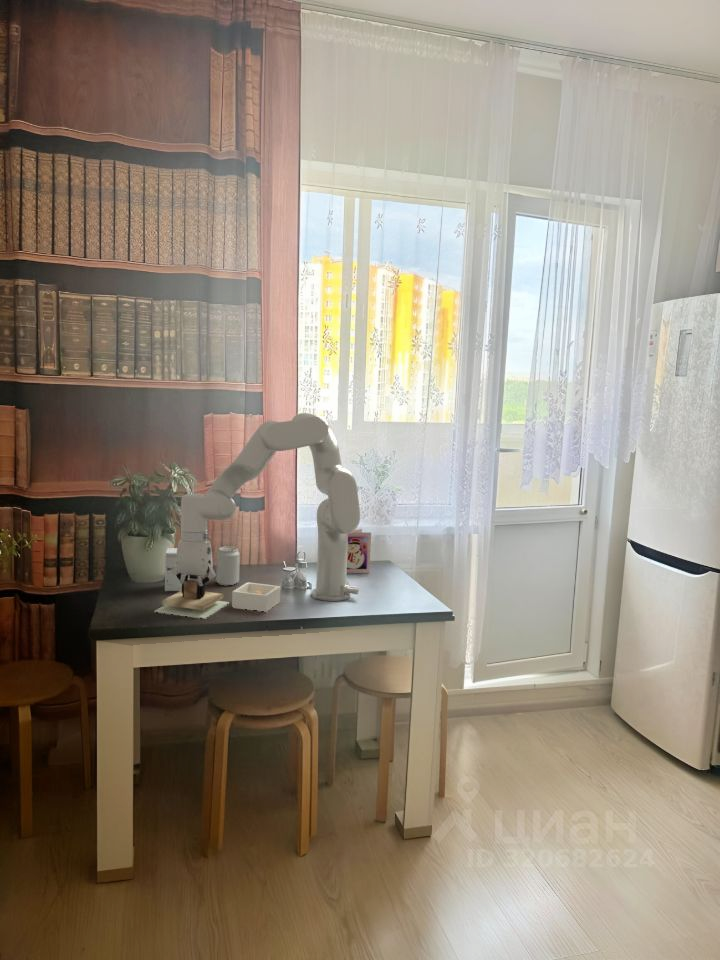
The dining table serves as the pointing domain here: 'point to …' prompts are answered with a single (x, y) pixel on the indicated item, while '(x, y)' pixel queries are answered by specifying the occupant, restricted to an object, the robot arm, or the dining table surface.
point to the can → (227, 566)
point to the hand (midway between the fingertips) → (193, 596)
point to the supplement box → (170, 579)
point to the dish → (256, 597)
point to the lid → (192, 597)
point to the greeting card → (358, 552)
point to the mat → (192, 610)
